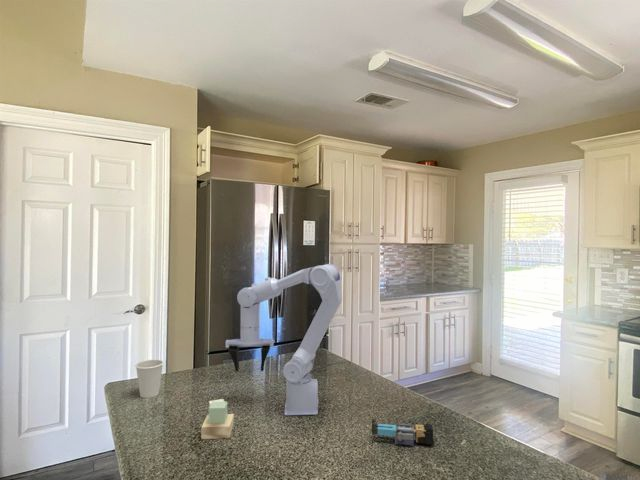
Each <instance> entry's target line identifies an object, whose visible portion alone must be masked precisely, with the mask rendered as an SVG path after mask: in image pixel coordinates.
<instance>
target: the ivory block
mask: <svg viewBox="0 0 640 480" xmlns="http://www.w3.org/2000/svg"><path fill="white" fill-rule="evenodd" d="M212 402H226V401H225V399H224V398H220V399H214V400H209V401H208V408H209V407H210V405H211V403H212Z"/></svg>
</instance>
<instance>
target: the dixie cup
mask: <svg viewBox="0 0 640 480" xmlns="http://www.w3.org/2000/svg"><path fill="white" fill-rule="evenodd" d="M164 363H165V362H164V360H161V359H146V360H142V361H139V362H137V363H136V364H135V369H136V377H137V384H138V391H139V396H140V398H142V399H144V398H145V399H149V398H153V397H156V396H158V395H159V394H160V390H161V389H160V388H161V383H162V374H163V367H164Z"/></svg>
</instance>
